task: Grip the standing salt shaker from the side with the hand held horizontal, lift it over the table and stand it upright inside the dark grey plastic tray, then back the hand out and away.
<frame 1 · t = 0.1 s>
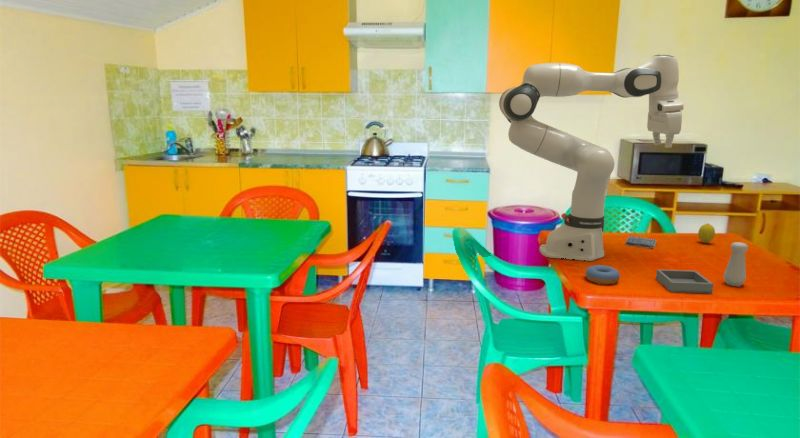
hand: (662, 146, 183), 39 cm above the table, tool pointing down, fingers open, 8 cm apart
doughnut: (601, 281, 167), on the table
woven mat: (640, 245, 207), on the table
salt shaker: (733, 284, 164), on the table
tray: (682, 285, 163), on the table
lemon: (705, 243, 208), on the table
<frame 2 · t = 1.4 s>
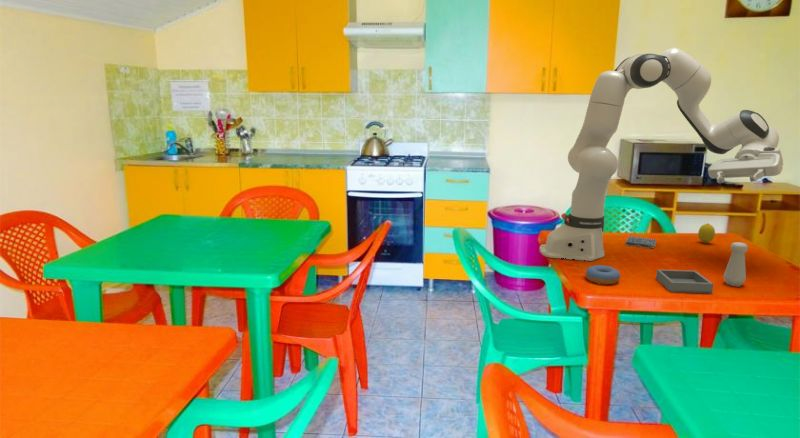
hand: (735, 180, 169), 30 cm above the table, tool tilted 65°, fingers open, 8 cm apart
nothing on the table moved.
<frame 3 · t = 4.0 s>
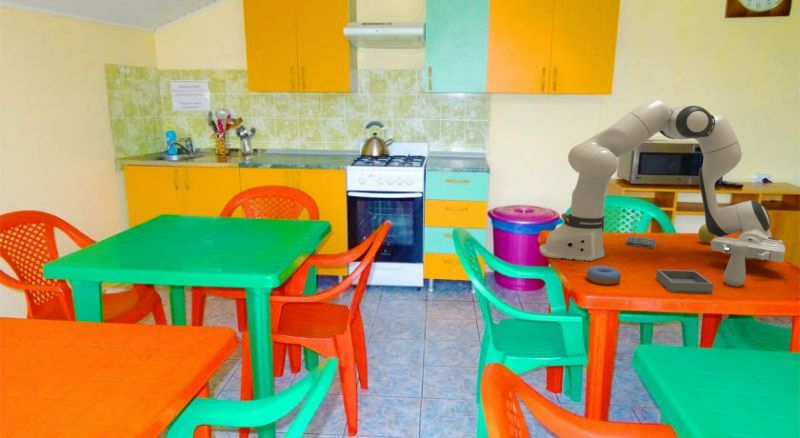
hand: (742, 254, 169), 7 cm above the table, tool horizontal, fingers open, 8 cm apart
nothing on the table moved.
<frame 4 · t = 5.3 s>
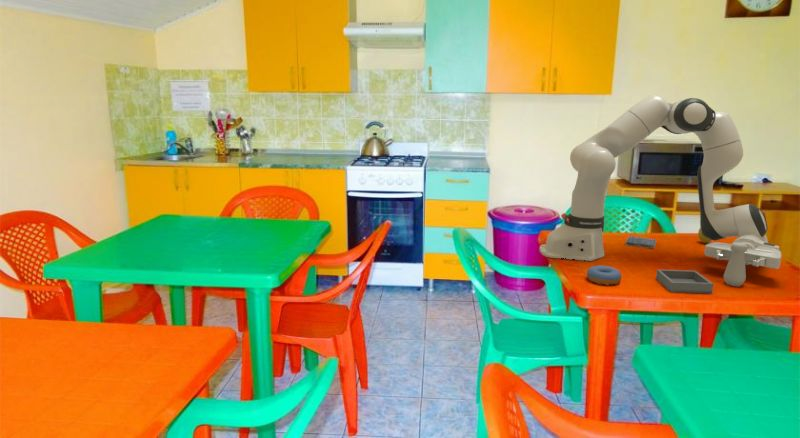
hand: (737, 260, 163), 7 cm above the table, tool horizontal, fingers open, 8 cm apart
nothing on the table moved.
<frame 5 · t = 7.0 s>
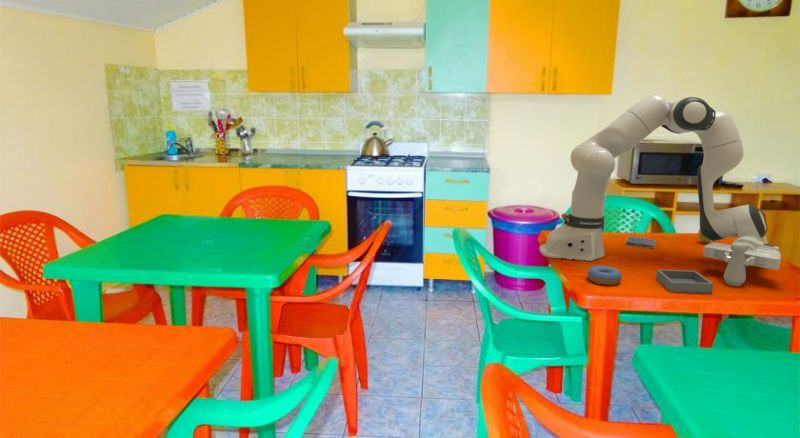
hand: (736, 261, 162), 8 cm above the table, tool horizontal, fingers closed on salt shaker, 3 cm apart
salt shaker: (733, 284, 164), on the table, touching gripper
everything else where it was.
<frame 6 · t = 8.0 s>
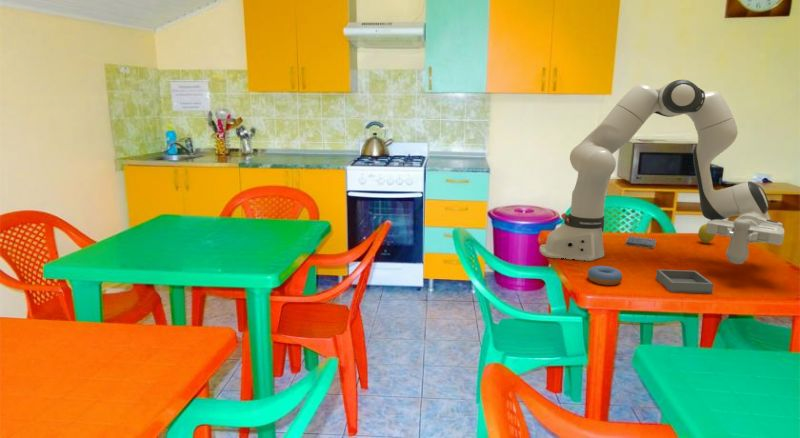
hand: (739, 236, 160), 15 cm above the table, tool horizontal, fingers closed on salt shaker, 3 cm apart
salt shaker: (735, 262, 163), point 7 cm above the table, touching gripper
everything else where it was.
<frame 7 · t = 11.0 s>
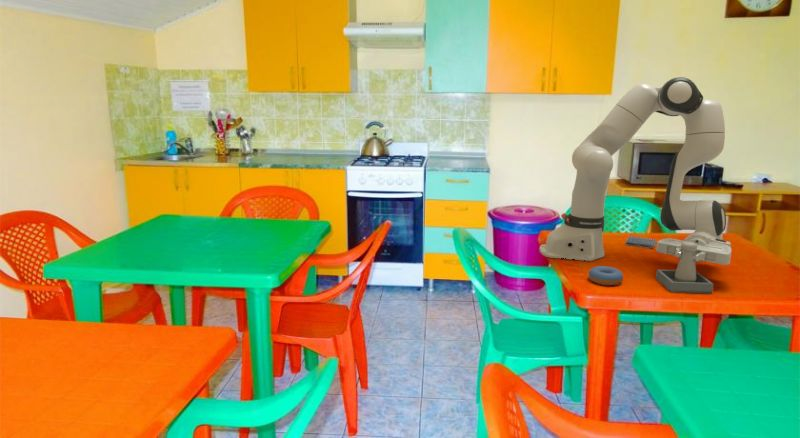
hand: (686, 256, 160), 9 cm above the table, tool horizontal, fingers closed on salt shaker, 3 cm apart
salt shaker: (684, 284, 162), resting on tray, touching gripper
when the fingers open (9 cm above the table, at t = 11.4 s): salt shaker stays where it is, resting on tray.
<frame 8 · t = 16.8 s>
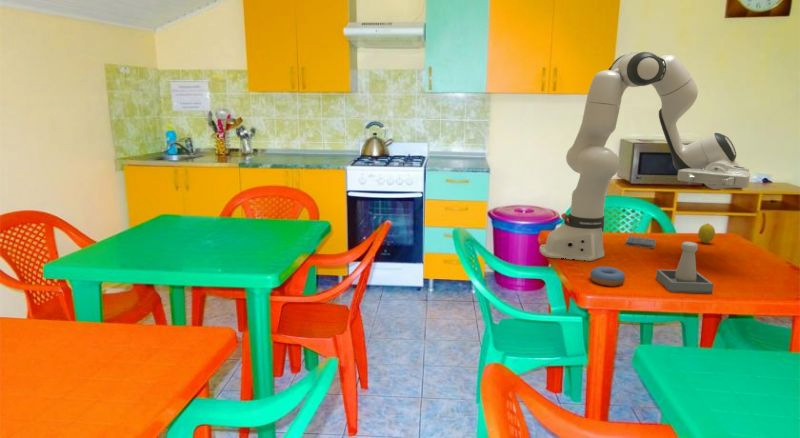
hand: (707, 180, 169), 30 cm above the table, tool horizontal, fingers open, 8 cm apart
salt shaker: (684, 284, 162), resting on tray
at the end: salt shaker 0.4 cm off-centre on the tray, point 0.4 cm above the tray's base; salt shaker tilted 0°; the gripper is holding nothing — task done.
